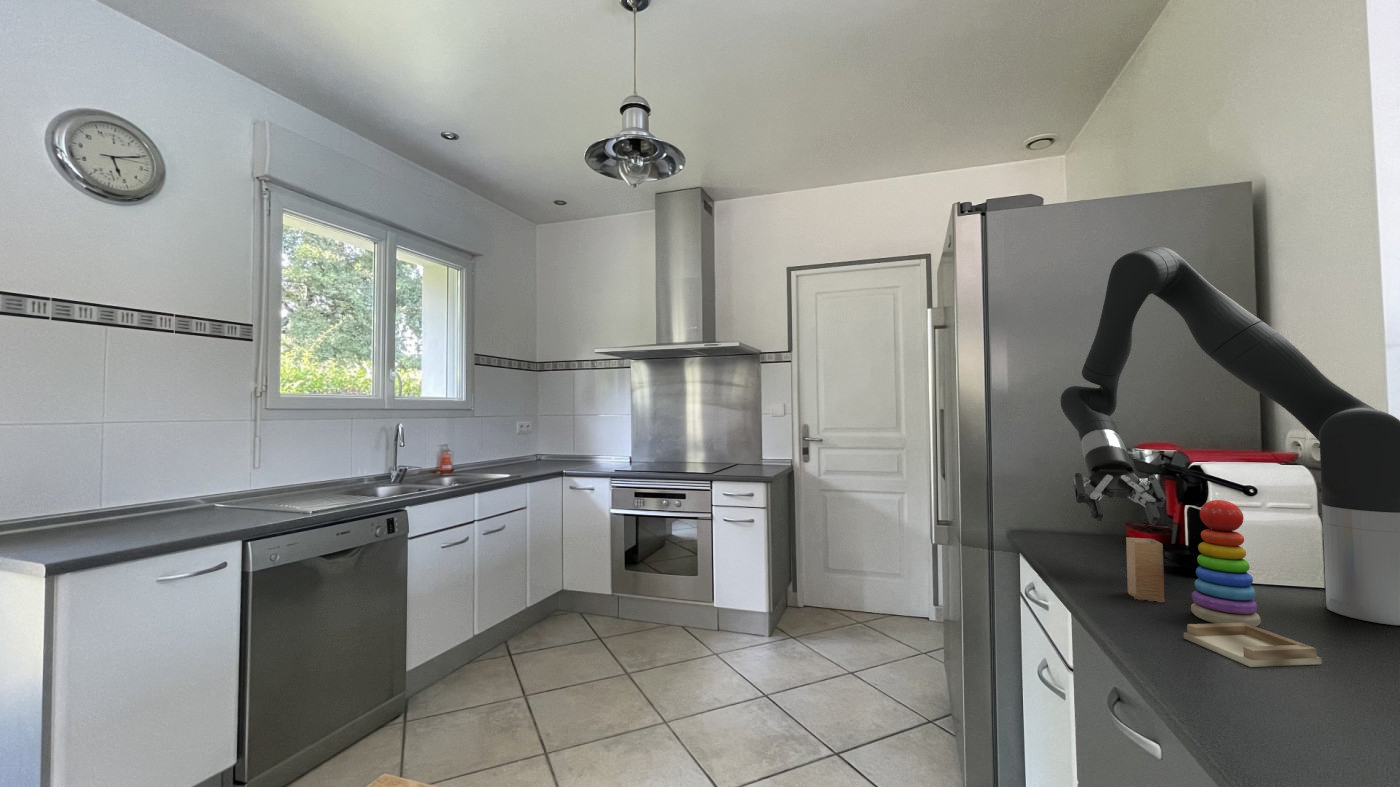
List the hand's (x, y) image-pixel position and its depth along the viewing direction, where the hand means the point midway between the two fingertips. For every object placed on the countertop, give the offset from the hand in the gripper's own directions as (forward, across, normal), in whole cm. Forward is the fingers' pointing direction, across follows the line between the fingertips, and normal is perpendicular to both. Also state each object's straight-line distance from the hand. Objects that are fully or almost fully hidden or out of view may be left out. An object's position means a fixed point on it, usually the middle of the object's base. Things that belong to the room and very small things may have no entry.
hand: (1126, 520), depth 105 cm
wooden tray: (+30, +5, -13) cm, 32 cm away
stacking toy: (+21, +7, -3) cm, 22 cm away
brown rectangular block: (+14, 0, +3) cm, 15 cm away
